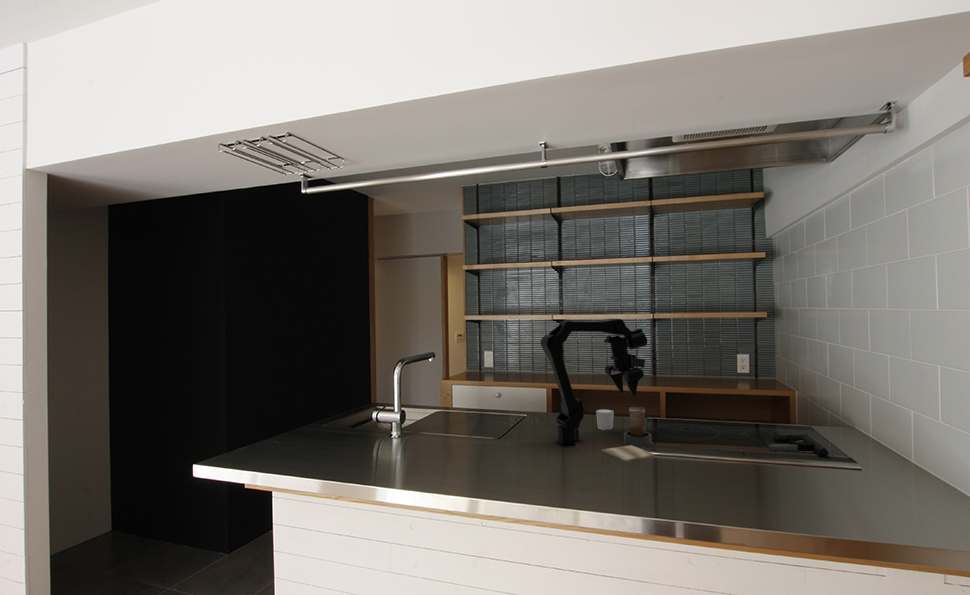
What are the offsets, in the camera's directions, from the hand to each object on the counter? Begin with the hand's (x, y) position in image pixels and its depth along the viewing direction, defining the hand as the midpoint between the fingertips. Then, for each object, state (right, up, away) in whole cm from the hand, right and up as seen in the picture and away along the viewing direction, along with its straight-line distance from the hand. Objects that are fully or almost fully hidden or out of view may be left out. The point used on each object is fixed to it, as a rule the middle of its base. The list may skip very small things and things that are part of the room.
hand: (627, 394), depth 191 cm
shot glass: (-5, -16, +14) cm, 22 cm away
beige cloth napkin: (-6, -16, -23) cm, 28 cm away
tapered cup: (+1, -15, -10) cm, 18 cm away
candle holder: (+1, -16, -10) cm, 19 cm away
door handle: (+51, -15, -17) cm, 56 cm away
